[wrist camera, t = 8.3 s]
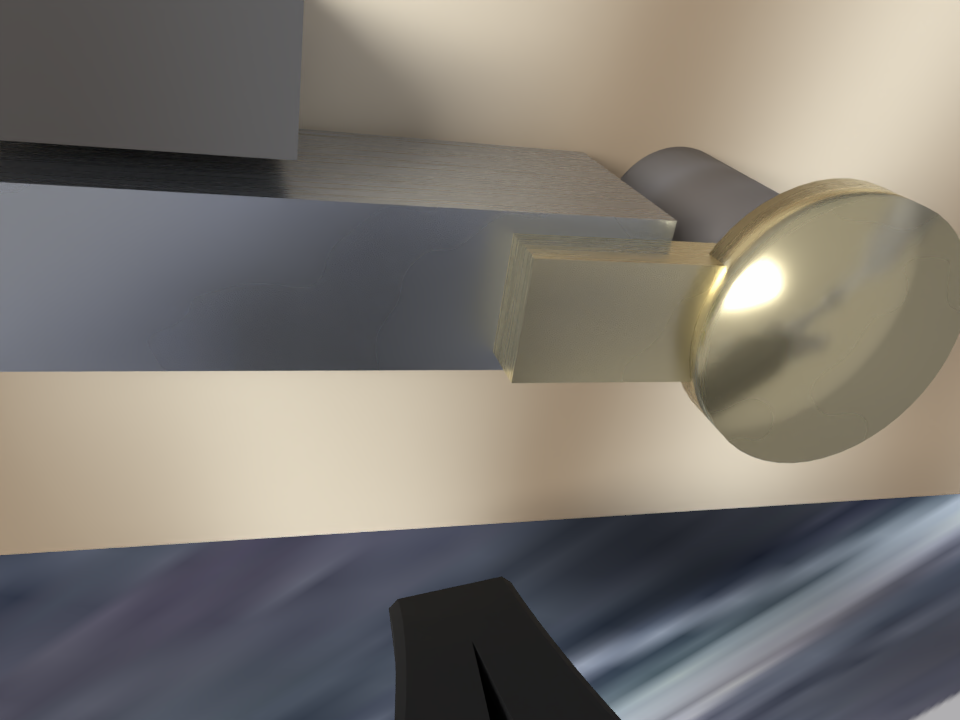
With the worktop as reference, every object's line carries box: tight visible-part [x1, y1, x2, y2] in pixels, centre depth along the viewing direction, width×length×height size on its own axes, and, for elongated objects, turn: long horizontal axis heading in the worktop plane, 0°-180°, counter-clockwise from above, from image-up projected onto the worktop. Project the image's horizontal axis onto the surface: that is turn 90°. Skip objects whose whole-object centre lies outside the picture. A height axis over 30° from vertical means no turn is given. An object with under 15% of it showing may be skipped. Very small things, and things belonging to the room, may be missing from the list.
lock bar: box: [0, 129, 960, 463], centre depth 8 cm, size 10×3×3 cm, turn 81°
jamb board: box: [0, 0, 960, 555], centre depth 9 cm, size 18×13×4 cm
